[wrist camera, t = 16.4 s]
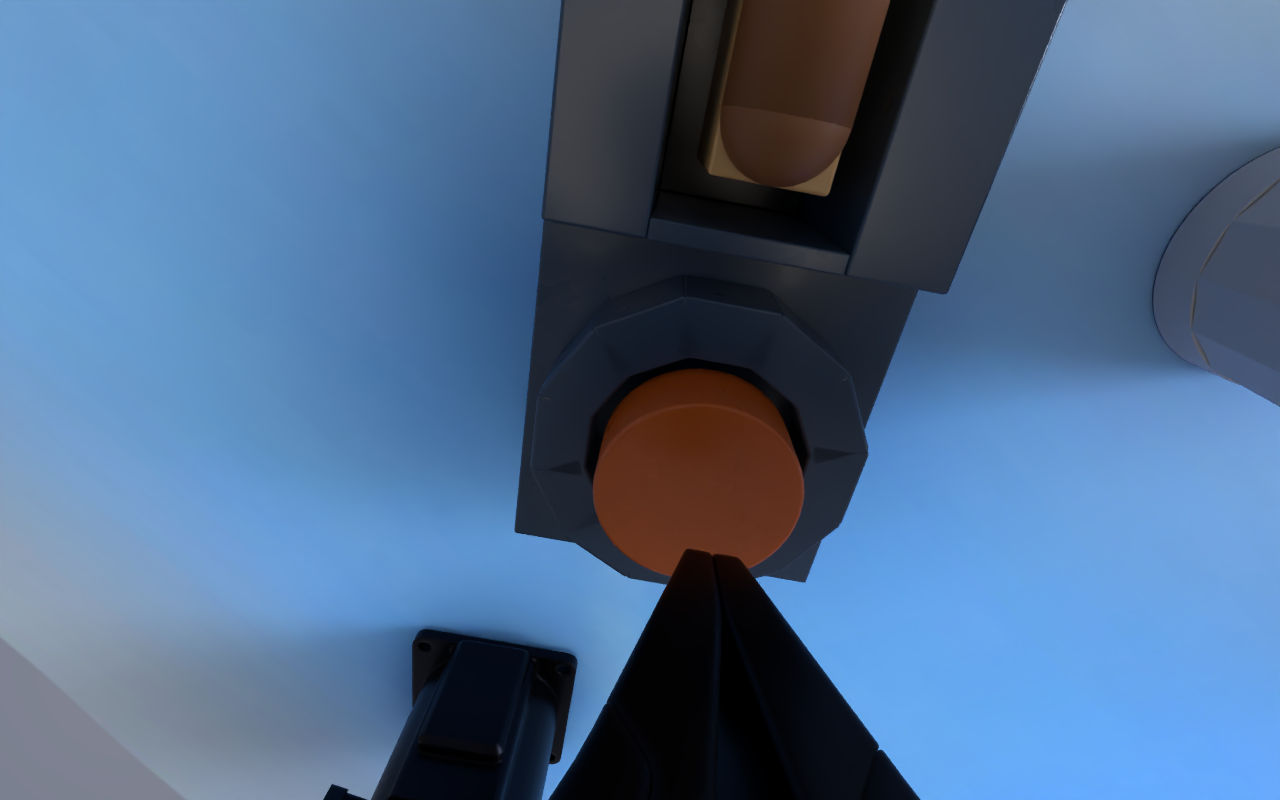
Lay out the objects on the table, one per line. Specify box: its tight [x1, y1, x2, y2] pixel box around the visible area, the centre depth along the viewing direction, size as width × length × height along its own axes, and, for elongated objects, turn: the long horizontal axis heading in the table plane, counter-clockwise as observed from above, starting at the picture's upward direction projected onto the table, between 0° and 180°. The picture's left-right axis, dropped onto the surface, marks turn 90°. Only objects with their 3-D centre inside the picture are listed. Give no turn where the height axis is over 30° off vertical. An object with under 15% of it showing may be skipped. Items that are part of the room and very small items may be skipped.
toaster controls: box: [515, 220, 918, 585], centre depth 15 cm, size 8×8×6 cm
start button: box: [592, 369, 805, 576], centre depth 12 cm, size 4×4×2 cm
